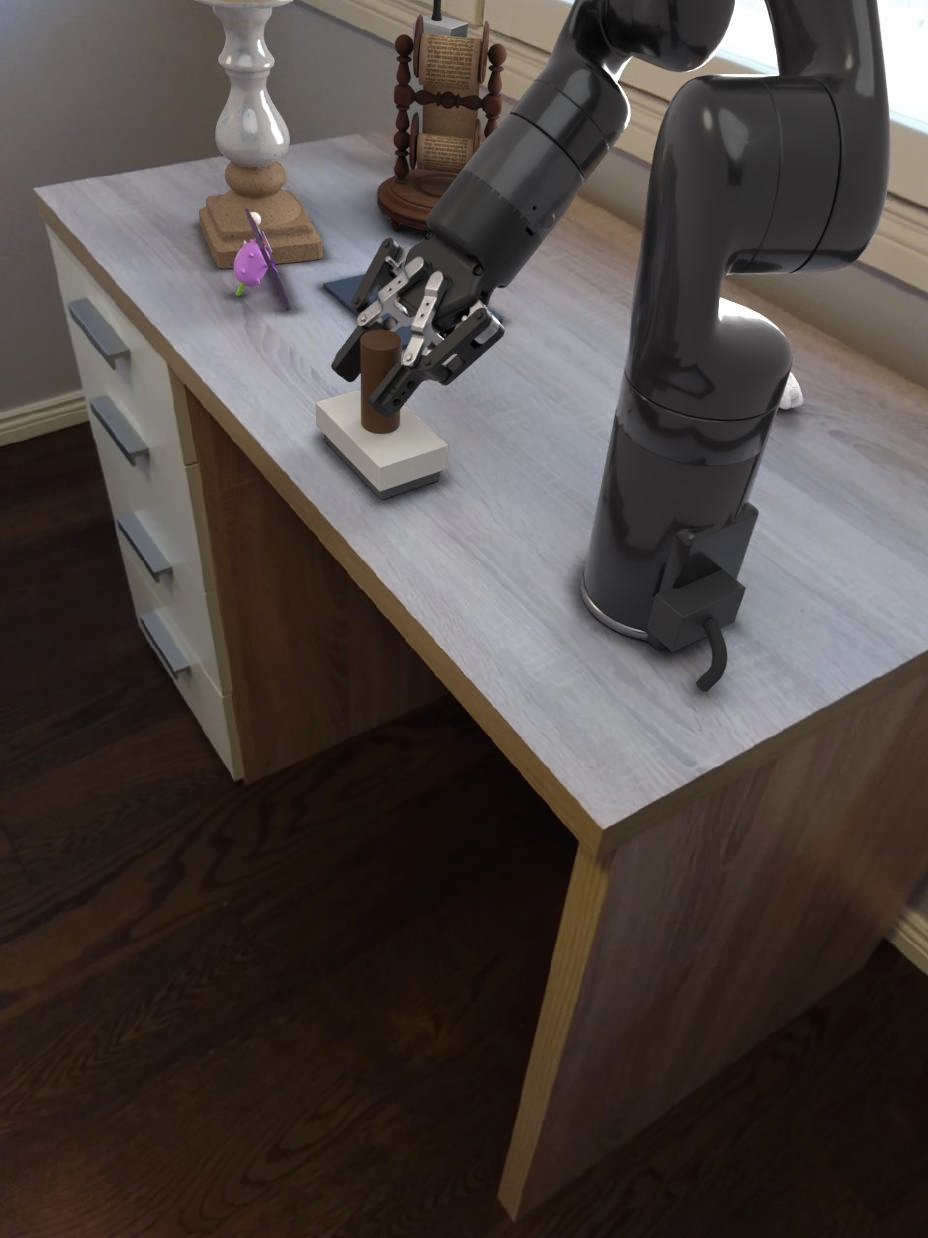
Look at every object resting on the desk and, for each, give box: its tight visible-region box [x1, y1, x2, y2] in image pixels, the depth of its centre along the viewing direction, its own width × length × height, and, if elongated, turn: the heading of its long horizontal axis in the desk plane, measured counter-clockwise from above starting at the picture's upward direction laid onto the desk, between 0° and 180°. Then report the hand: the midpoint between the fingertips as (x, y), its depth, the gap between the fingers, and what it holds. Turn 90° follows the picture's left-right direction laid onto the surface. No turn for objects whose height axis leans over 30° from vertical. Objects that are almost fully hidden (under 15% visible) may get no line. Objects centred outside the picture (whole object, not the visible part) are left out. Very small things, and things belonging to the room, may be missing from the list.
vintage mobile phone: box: [408, 0, 469, 170], centre depth 115 cm, size 4×5×25 cm
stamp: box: [314, 330, 449, 501], centre depth 77 cm, size 10×6×10 cm, turn 34°
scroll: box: [376, 14, 508, 232], centre depth 108 cm, size 15×15×20 cm
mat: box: [322, 273, 504, 350], centre depth 100 cm, size 14×12×1 cm
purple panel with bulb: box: [233, 208, 292, 311], centre depth 98 cm, size 7×5×9 cm
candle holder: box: [193, 0, 324, 269], centre depth 99 cm, size 11×11×24 cm
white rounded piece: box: [778, 371, 804, 410], centre depth 91 cm, size 3×8×3 cm, turn 17°
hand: (359, 392), depth 75 cm, fingers open, 5 cm apart
